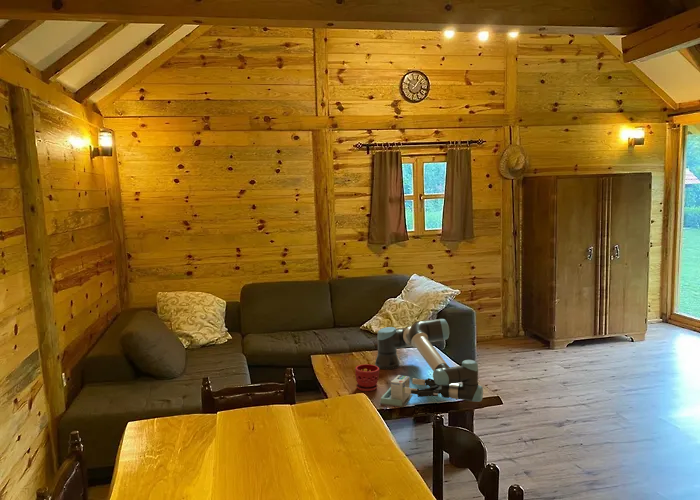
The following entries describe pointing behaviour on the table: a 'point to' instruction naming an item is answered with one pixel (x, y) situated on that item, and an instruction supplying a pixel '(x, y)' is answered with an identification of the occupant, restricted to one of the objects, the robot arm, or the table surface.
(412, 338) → the robot arm
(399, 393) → the light bulb box
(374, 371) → the plant pot
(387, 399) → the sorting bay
